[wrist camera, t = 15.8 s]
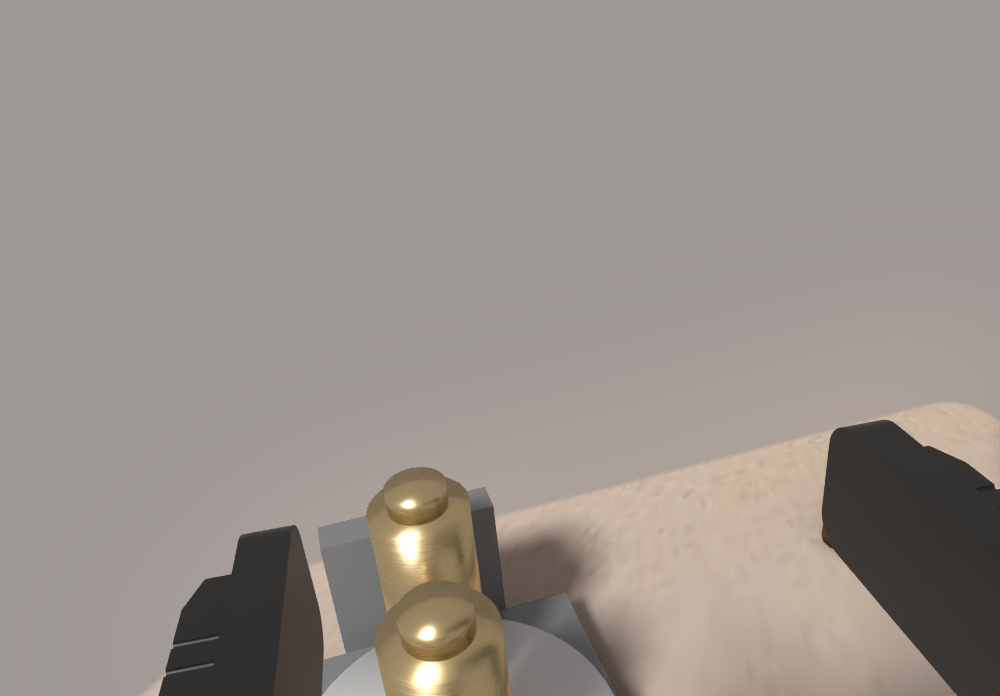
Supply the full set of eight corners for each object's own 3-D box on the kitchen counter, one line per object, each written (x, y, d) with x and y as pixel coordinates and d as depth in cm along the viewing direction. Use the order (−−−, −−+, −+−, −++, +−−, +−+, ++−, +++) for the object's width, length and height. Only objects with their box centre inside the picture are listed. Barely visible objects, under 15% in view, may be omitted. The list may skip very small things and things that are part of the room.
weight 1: (456, 631, 46) (426, 444, 40) (511, 680, 43) (487, 483, 37) (385, 681, 43) (342, 487, 38) (438, 737, 40) (400, 534, 34)
